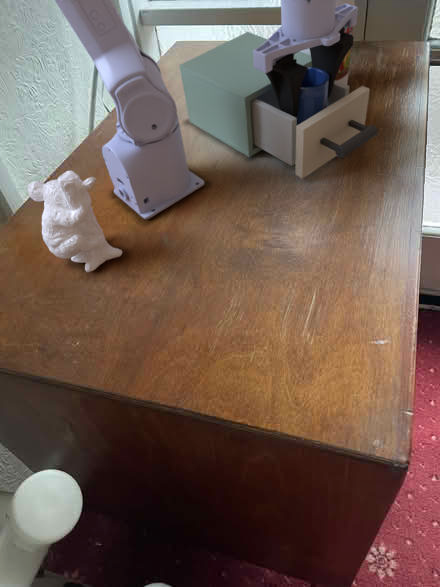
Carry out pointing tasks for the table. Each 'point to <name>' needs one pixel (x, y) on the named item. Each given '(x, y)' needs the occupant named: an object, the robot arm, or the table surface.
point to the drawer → (312, 129)
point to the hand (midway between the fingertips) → (305, 106)
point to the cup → (313, 93)
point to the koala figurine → (72, 221)
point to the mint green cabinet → (228, 90)
